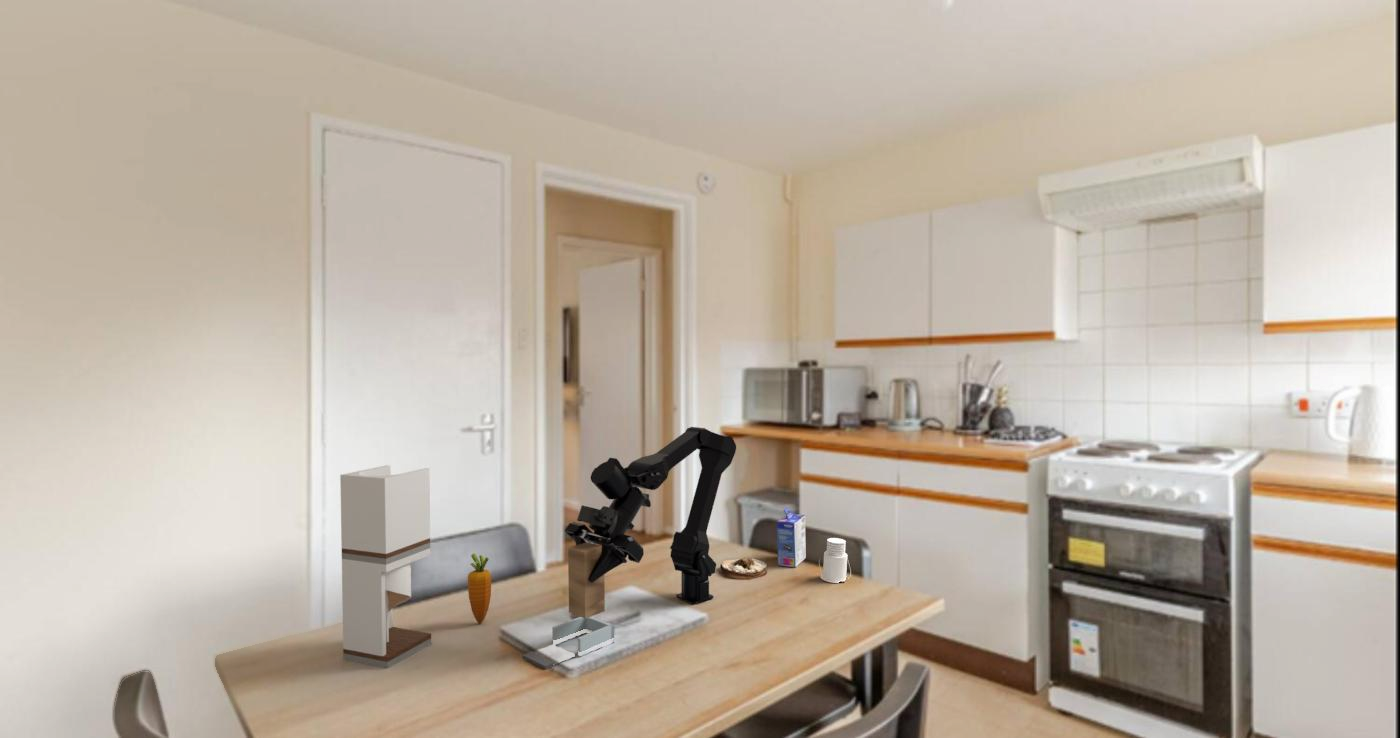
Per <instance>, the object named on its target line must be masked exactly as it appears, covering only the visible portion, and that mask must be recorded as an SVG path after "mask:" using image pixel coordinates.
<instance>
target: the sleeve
mask: <svg viewBox="0 0 1400 738" xmlns="http://www.w3.org/2000/svg"><path fill="white" fill-rule="evenodd" d="M583 629H588V630H592V631H593V632H591V633H588V634H583V635H581V636H578V637H577V652H578V651H579V652H582V651H585V650H587V649H589V648H591V647H593V646H595V645H598V644H600V643H602V642H605V641H607V640H609V639H612V638H614V639H615V625H614V624H612V623H609V622H606V621H605V620H601V619H599V618H596V617H594V616H591V617H588V618H586V619H585V618H582V617H580V616H577V617H576V618H573V619H570V620H568V621H565V622H563V623H560V624H559V623H558V624H557V625H555V626H552V632H551V633H552V639H553V640H557V639H560V638H563V637H565V636H568V635H570V634H573V633H576V632H578V631H581V630H583ZM522 659H523V660H525V661H528V662H529V663H532V664H533V665H536V666H537V667H540V668H541V669H543V670H548V669H551V668H553V667H554V666H553V664H554V663H553V662H552V661H550V660H548V659H546V658H544V657H542V656H540V655H539V654H536V653H535V652H533V651H531V652H527V653H526V654H523V655H522Z"/></svg>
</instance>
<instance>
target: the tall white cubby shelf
mask: <svg viewBox="0 0 1400 738" xmlns="http://www.w3.org/2000/svg"><path fill="white" fill-rule="evenodd" d="M339 477H340V479H339V480H340V527H341V529H340V533H341V535H340V536H341V537H340V539H341V540H340V541H341V543H340V544H341V587H342V588H341V590H342V591H341V593H342V594H341V595H342V596H341V597H342V603H341V604H342V644H343V645H342V647H343V648H342V651H343V654H342V655H343V657H342V658H343V660H344V661H350V662H354V663H360V664H364V665H365V664H366V665H370V666H375V667H379V668H383V669H389V668H390V667H391V668H392V667H393V666H394V665H396V664H398V663H399V662H402V661H403V660H405V659H407V658H409V657H410V656H412V655H414V654H416V653H418V652H419V651H421V650H423V649H425V648H427V647H428V646H429V645H431V644H432V633H430V632H425V631H419V630H415V629H414V630H413V629H408V628H402V627H397V626H396V627H395V626H394V623H393V621H394V620H393V608H396V607H398V606H399V605H401V604H403V603H405V602H407V601H409V600H410V599H412V570H411V567H412V566H411V563H413V562H416V561H419V560H421V559H423V558H426V557H429V556H431V511H430V510H431V505H430V504H431V502H430V500H431V499H430V498H431V497H430V496H431V495H430V468H428V467H425V468H420V469H416V470H412V471H407V472H403V473H397V474H396V473H395V474H391V465H388V464H386V465H382V466H381V465H380V466H376V467H373V468H372V467H371V468H367V469H363V470H357V471H352V472H348V473H343V474H340V476H339Z"/></svg>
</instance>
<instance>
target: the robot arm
mask: <svg viewBox="0 0 1400 738" xmlns="http://www.w3.org/2000/svg"><path fill="white" fill-rule="evenodd" d="M696 450H699V452H698V453H699V454H698V457H699V463H700V467H701V471H700V474H699V478H698V480H697V481H698V482H697V484H696V488H695V491H694V496H693V499H692V502H691V503H692V504H691V506H690V509H689V510H690V511H689V514H688V518H687V522H686V525H685V527H684V528H683V529H682V530H681V531H675V532H674V534H673V539H672V542H671V545H670V547H669V549H670V558H671V561H672V563H673V567H674V570H675V571H677V572H678V571H679V572H681V576H680V577H681V592H680V593H677V594H676V595H675V597H676V598H678V599H680V600H682V601H685V602H687V603H690V605H691V604H692V605H694V604H698V603H702V602H705V601H708V600H711V599H714V595H713V594H710V580H709V577H711V576H712V575H713V574H715V573H716V569H717V563H716V562H715V561H714V559H713V558H712V557H711V556H710V555H709V552H710V542H709V539H708V538H709V537H708V534H707V531H708V527H709V523H710V520H711V516H712V512H713V509H714V505H715V501H716V497H717V493H718V489H719V485H720V482H721V478H722V475H723V473H724V471H726V470H727V469H728V468H729V466H731V464H732V462H733V460H734V457H735V455H736V451H737V443H736V441H735V440H734V438H733V437H732V435H724V434H723V435H722V434H719V433H716V432H713V431H711V430H709V429H707V428H705V427H698V426H690V427H687V428H686V430H685V431H684V432H683V433H682V434H681V435H679V436H678V437H676V438H675V439H674V440H672V441H670V442H669V443H667V445H665V446H664V447H663V448H661V449H660V450H657V452H654V453H653V454H649V455H644V456H642V457H640V458H638V459H635V460H633V461H631V462H630V463H629V464H628V466H626V467H624V466H623V465H622V464H621V462H620V460H618V458H615V457H609V458H608V459H607V461H604V462H602V463H601V464H599V465H598V466H597V467H594V469H593V470H592V472H591V474H590V481H591V482H592V483H593V485H594V486H595V487H596V488H597V489H598V490H599V491H600V492H601V493H602V495H603V496H605V498H606V499H608V500H612V502H611V503H610V505H608V506H605V505H604V506H602V507H601V508H600V509H598V508H594V507H591V506H587V505H581V507H580V510H579V513H578V515H577V519H576V521H577V522H576V521H573V522H570V523H568V525H567V526H566V527H565V530H564V532H565V534H566V535H567V536H568V537H569V538H570V539H572V540H573V541H574V542H575V546H576V545H579V544H583V543H586V542H589V543H593V544H596V545H600V546H602V553H601V556H600V557H599V559H598V561H597V563H596V565H595V566H594V568H593V570H592V572H591V574H590V576H589V578H588V580H589V581H590V582H594V581H595V580H597V579H598V578H600V577H601V576H603V575H604V576H605V574H607V573H609V572H610V571H612V570H614V569H615V568H617V567H618V566H620V565H622V564H626V563H627V562H628V560H629V561H631V562H633V563H637V564H640V562H641V560H642V558H643V557H644V548H643V547H642V546H641V544H640V543H638V541H637V540H636V539H635V538H634V537H633V536H631V535H628V534H626V533H627V530H630V531H632V530H633V529H634V528H635V525H634V524H633V523H632V522H633V521H634V519H635V517H636V516H637V514H638V512H639V511H640V509H641V508H642V507H646V508H651V507H652V504H651V499H650V494H649V493H644V492H643V491H642V490H641V489H645V490H649V491H655V490H658V489H659V488H660V486H661V485H662V484H663V483H665V481H667V479H668V477H669V474H670V473H669V472H670V471H671V470H672V469H673V468H674V467H676V466H677V465H679V463H681V462H682V461H684V460H685V459H687V458H688V456H690V455H691V454H693V453H694V452H696ZM581 522H582V523H581ZM584 523H586V524H589V525H588V526H587V525H586V524H584ZM590 529H591V530H590ZM592 530H593V531H594V532H593V531H592ZM626 558H628V560H627V559H626Z"/></svg>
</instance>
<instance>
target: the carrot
mask: <svg viewBox="0 0 1400 738" xmlns="http://www.w3.org/2000/svg"><path fill="white" fill-rule="evenodd" d="M470 557H471V558H472V560H473V561H474V562H471V563H470V566H471V567H473V568H474V570H472V571H470V572H469V573H468V575H467V590H468V591H467V592H468V600H469V604H470V609H471V612H472V614H473V617H474V619H475V621H476V622H477V623H478V624H479V625H481V624H482V623H483V622H484V620H485V618H486V616H487V613H488V610H489V607H490V603H491V597H492V574H491V572H490V570H488V569H485V567H486V565H487V563H488V562H489V559H490V557H488V556H486V557H484V556H483V555H481V554H480V555H479V556H477V554H476V553H472V554H471V555H470ZM478 557H479V558H478Z"/></svg>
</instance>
